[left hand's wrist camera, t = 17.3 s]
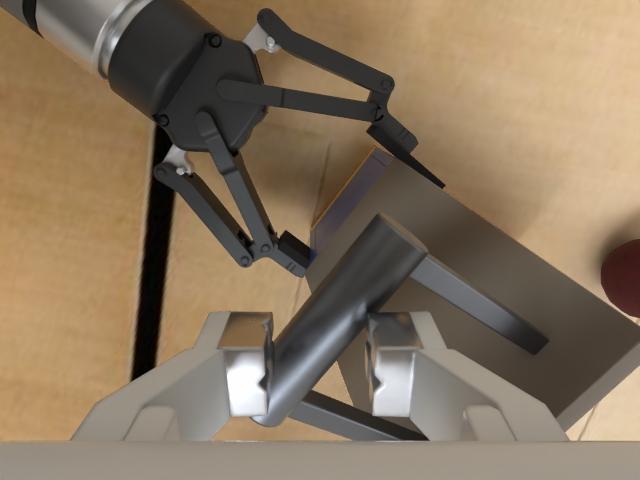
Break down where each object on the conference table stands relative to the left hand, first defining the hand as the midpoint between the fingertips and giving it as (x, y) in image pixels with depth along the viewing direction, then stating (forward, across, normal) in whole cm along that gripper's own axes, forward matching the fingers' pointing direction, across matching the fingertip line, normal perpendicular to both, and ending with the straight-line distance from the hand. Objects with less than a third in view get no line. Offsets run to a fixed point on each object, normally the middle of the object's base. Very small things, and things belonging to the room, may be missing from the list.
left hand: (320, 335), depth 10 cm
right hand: (+22, -5, +6) cm, 23 cm away
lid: (+9, -4, +4) cm, 10 cm away
